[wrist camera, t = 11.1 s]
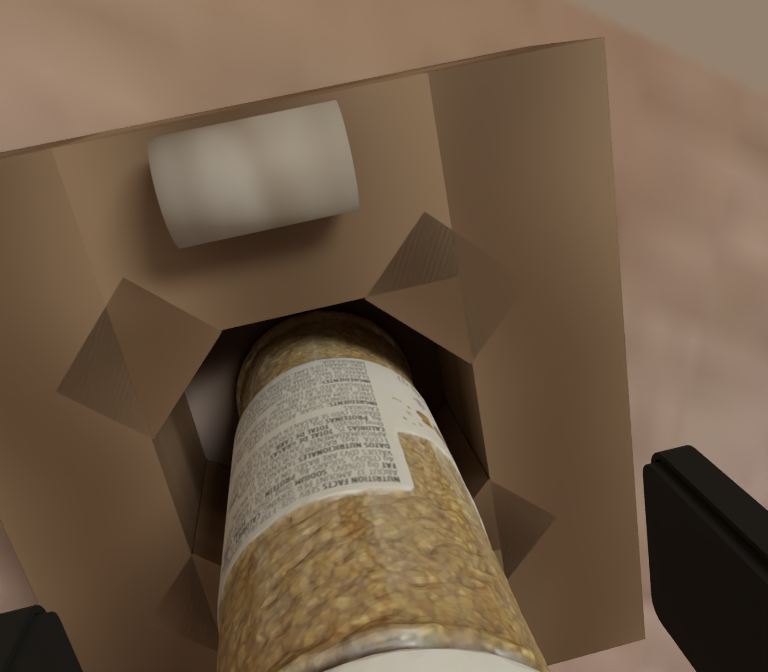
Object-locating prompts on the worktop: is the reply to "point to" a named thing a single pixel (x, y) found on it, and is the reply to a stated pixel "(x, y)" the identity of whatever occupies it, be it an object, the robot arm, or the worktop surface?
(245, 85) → the worktop surface
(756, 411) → the worktop surface
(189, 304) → the open brown cardboard box
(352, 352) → the sprinkles bottle
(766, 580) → the robot arm
